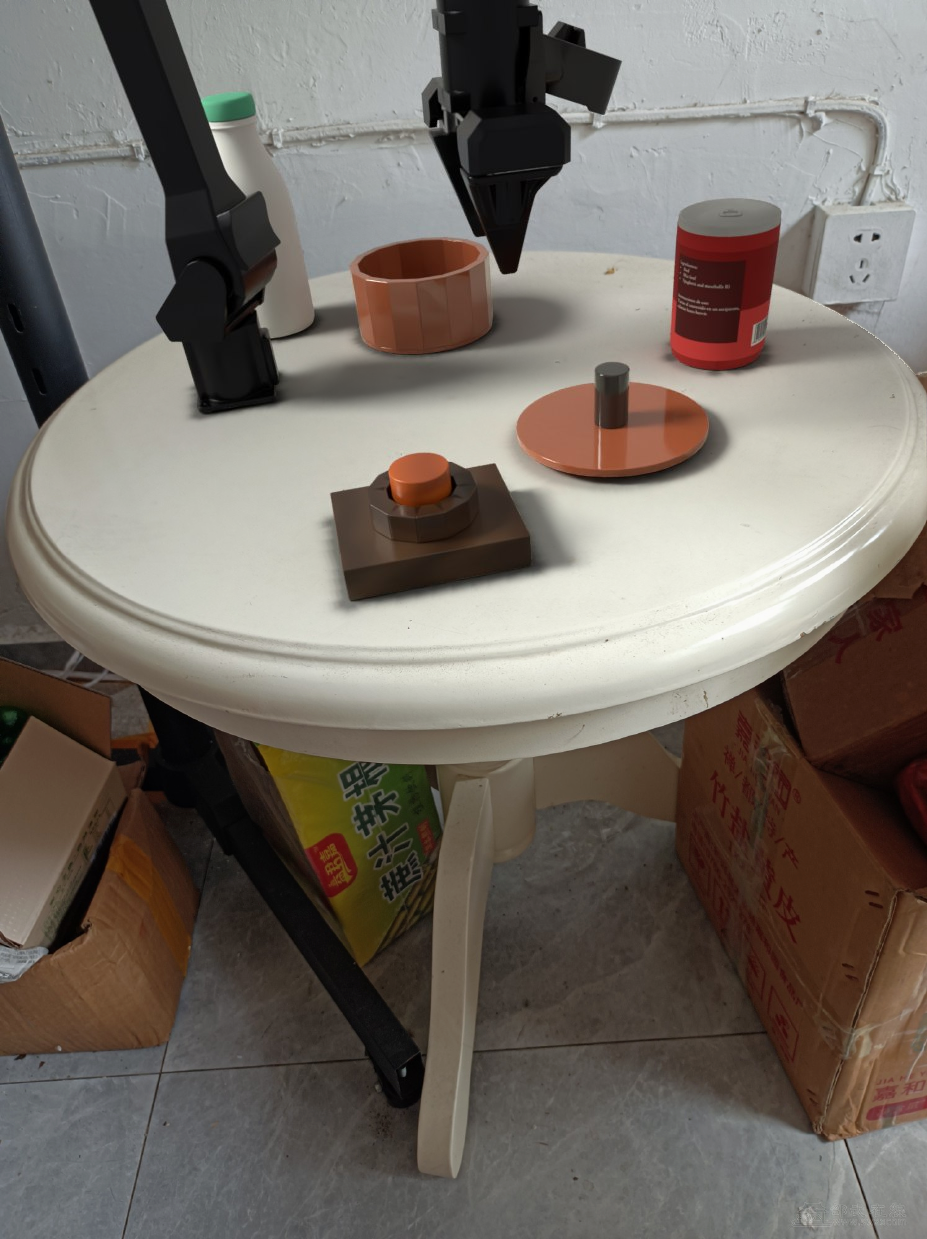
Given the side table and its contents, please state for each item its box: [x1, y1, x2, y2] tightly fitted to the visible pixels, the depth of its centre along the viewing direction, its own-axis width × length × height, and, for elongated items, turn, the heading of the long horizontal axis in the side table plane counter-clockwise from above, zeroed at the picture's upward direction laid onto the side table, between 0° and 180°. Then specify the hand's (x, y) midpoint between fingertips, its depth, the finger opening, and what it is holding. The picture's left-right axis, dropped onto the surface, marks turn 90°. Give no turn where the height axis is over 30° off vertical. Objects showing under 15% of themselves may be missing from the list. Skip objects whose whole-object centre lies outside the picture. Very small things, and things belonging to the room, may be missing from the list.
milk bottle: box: [200, 91, 316, 339], centre depth 80 cm, size 8×8×20 cm
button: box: [387, 452, 452, 507], centre depth 51 cm, size 4×4×2 cm
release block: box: [329, 461, 533, 601], centre depth 53 cm, size 11×9×4 cm
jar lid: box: [515, 361, 710, 478], centre depth 61 cm, size 14×14×5 cm
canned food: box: [669, 197, 782, 371], centre depth 69 cm, size 8×8×11 cm
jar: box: [348, 236, 494, 355], centre depth 80 cm, size 13×13×6 cm
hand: (494, 253), depth 62 cm, fingers open, 9 cm apart
